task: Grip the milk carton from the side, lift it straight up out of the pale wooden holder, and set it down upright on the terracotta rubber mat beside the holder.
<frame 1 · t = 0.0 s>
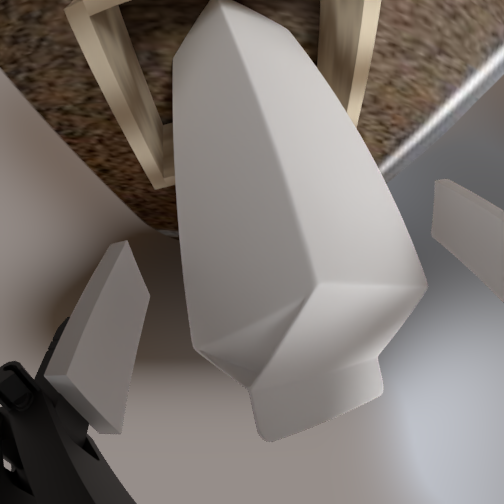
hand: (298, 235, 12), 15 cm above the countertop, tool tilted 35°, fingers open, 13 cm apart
holder: (229, 41, 17), on the countertop
milk: (229, 40, 17), resting in holder
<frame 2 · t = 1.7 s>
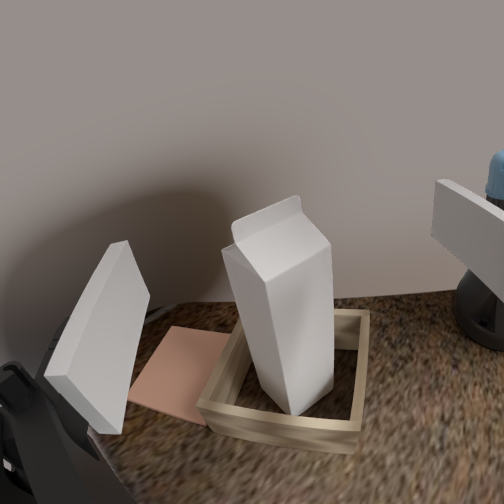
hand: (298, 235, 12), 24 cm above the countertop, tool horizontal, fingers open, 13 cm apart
mat: (186, 370, 37), on the countertop
holder: (296, 389, 32), on the countertop
milk: (297, 390, 32), resting in holder
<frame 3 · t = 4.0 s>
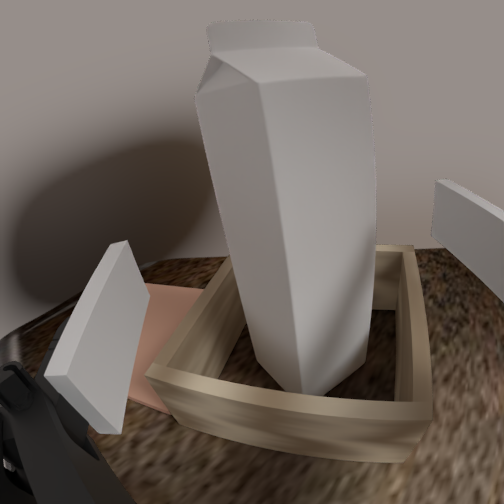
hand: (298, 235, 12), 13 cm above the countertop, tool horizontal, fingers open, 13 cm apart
mat: (154, 336, 27), on the countertop
holder: (310, 363, 22), on the countertop
milk: (310, 364, 22), resting in holder
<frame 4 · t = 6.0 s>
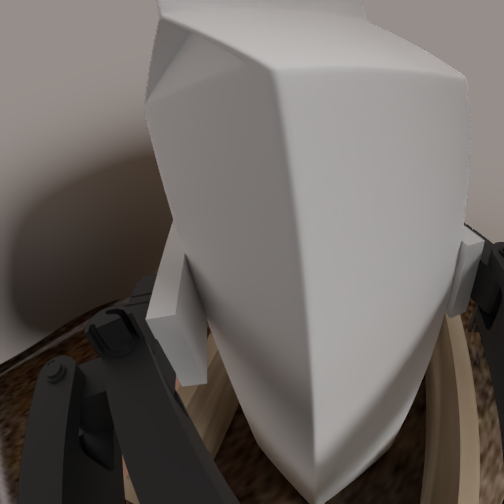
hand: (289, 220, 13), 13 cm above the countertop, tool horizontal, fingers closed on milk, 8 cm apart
holder: (323, 449, 15), on the countertop
milk: (324, 451, 15), resting in holder, touching gripper
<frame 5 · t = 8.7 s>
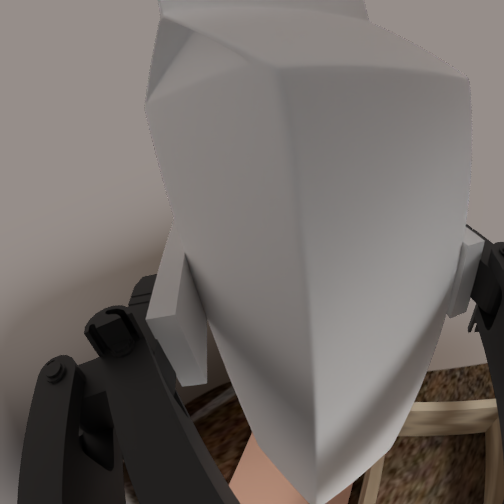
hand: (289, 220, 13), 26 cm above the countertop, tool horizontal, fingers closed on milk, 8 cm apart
mat: (293, 479, 24), on the countertop
holder: (431, 488, 18), on the countertop
milk: (324, 451, 15), point 13 cm above the countertop, touching gripper
when the fingers open (15 cm above the countertop, at t = 11.4 s): milk drops 2 cm, resting on mat.
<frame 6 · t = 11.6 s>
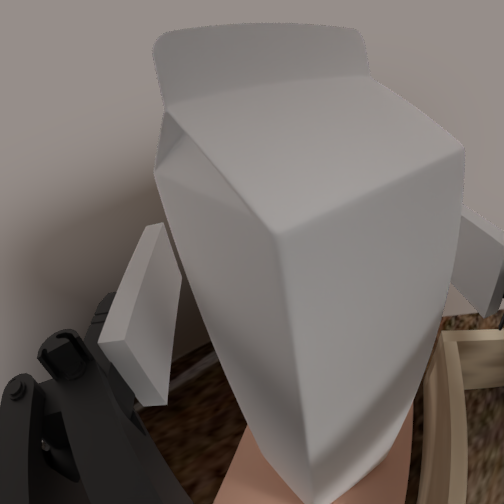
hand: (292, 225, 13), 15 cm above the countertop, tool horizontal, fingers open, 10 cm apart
mat: (323, 461, 17), on the countertop
milk: (323, 460, 16), resting on mat
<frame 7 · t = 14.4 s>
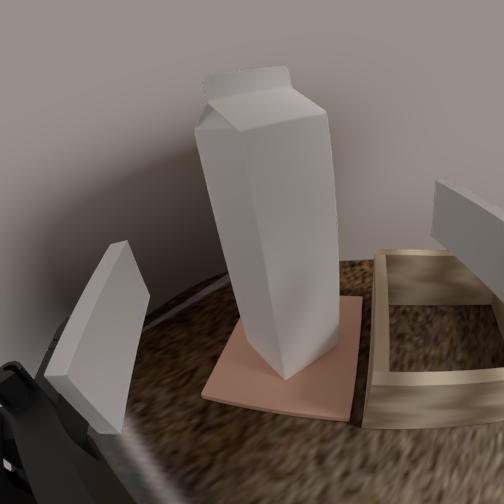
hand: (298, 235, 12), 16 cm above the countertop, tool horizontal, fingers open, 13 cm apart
mat: (292, 347, 27), on the countertop
holder: (448, 353, 21), on the countertop
milk: (292, 345, 26), resting on mat
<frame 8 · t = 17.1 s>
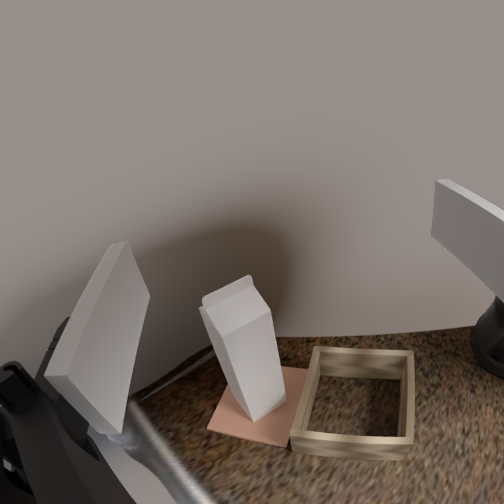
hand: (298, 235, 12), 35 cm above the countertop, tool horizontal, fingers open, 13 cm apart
mat: (260, 401, 43), on the countertop
holder: (355, 412, 37), on the countertop
milk: (260, 400, 42), resting on mat
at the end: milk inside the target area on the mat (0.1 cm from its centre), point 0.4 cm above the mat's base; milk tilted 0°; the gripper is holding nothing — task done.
